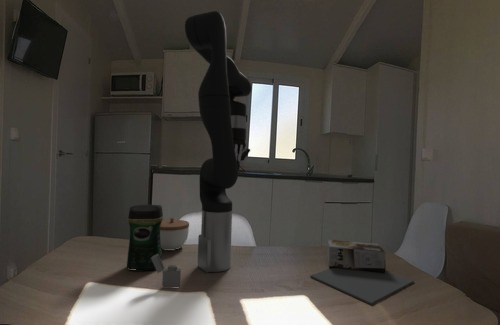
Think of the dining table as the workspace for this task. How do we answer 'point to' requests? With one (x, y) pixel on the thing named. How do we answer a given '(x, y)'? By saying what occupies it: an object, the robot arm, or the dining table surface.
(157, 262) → the lighter
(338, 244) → the coffee box
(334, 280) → the rubber mat
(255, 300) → the dining table surface
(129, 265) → the coffee jar
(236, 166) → the robot arm
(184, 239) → the lidded bowl
